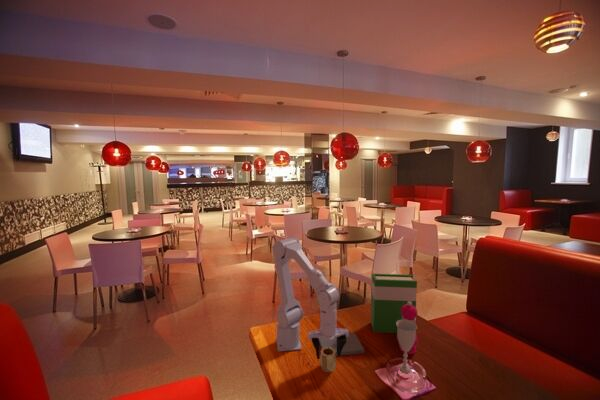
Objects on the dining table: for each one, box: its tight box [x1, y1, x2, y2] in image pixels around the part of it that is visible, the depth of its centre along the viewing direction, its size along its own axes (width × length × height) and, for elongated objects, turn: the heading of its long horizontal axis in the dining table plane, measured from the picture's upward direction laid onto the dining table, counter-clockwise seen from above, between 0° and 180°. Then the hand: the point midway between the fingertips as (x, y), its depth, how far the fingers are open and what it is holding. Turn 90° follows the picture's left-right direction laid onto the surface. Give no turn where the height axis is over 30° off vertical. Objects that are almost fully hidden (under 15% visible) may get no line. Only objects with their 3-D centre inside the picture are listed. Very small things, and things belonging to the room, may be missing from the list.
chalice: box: [396, 319, 418, 374], centre depth 96 cm, size 7×7×18 cm
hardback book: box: [370, 273, 418, 334], centre depth 123 cm, size 18×7×24 cm, turn 85°
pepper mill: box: [398, 301, 419, 355], centre depth 109 cm, size 7×7×20 cm
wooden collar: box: [320, 347, 337, 373], centre depth 99 cm, size 5×5×6 cm
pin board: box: [318, 332, 365, 357], centre depth 111 cm, size 16×11×6 cm
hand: (328, 356), depth 99 cm, fingers open, 7 cm apart
